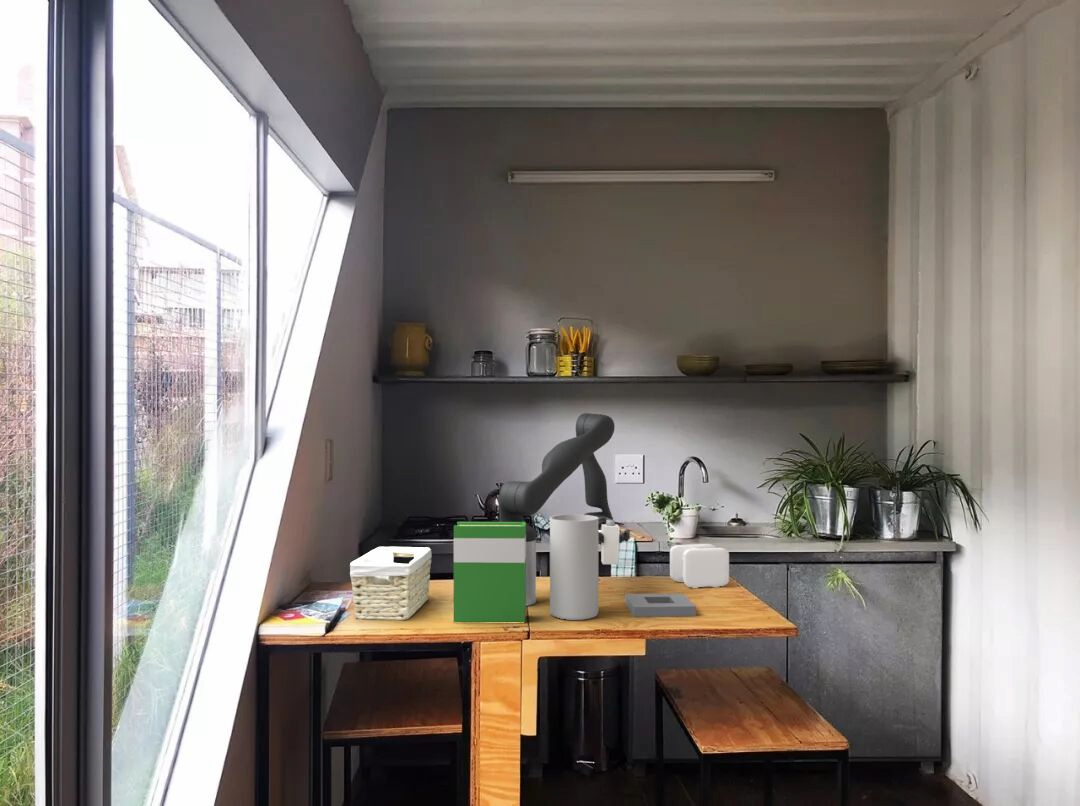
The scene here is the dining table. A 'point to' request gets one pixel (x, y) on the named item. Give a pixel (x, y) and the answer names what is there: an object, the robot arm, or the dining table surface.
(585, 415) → the robot arm
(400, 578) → the storage basket
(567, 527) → the cylinder vase
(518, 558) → the green cereal box
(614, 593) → the dining table surface
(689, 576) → the white napkin holder
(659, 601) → the socket plate
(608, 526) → the white block with knob
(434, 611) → the dining table surface
